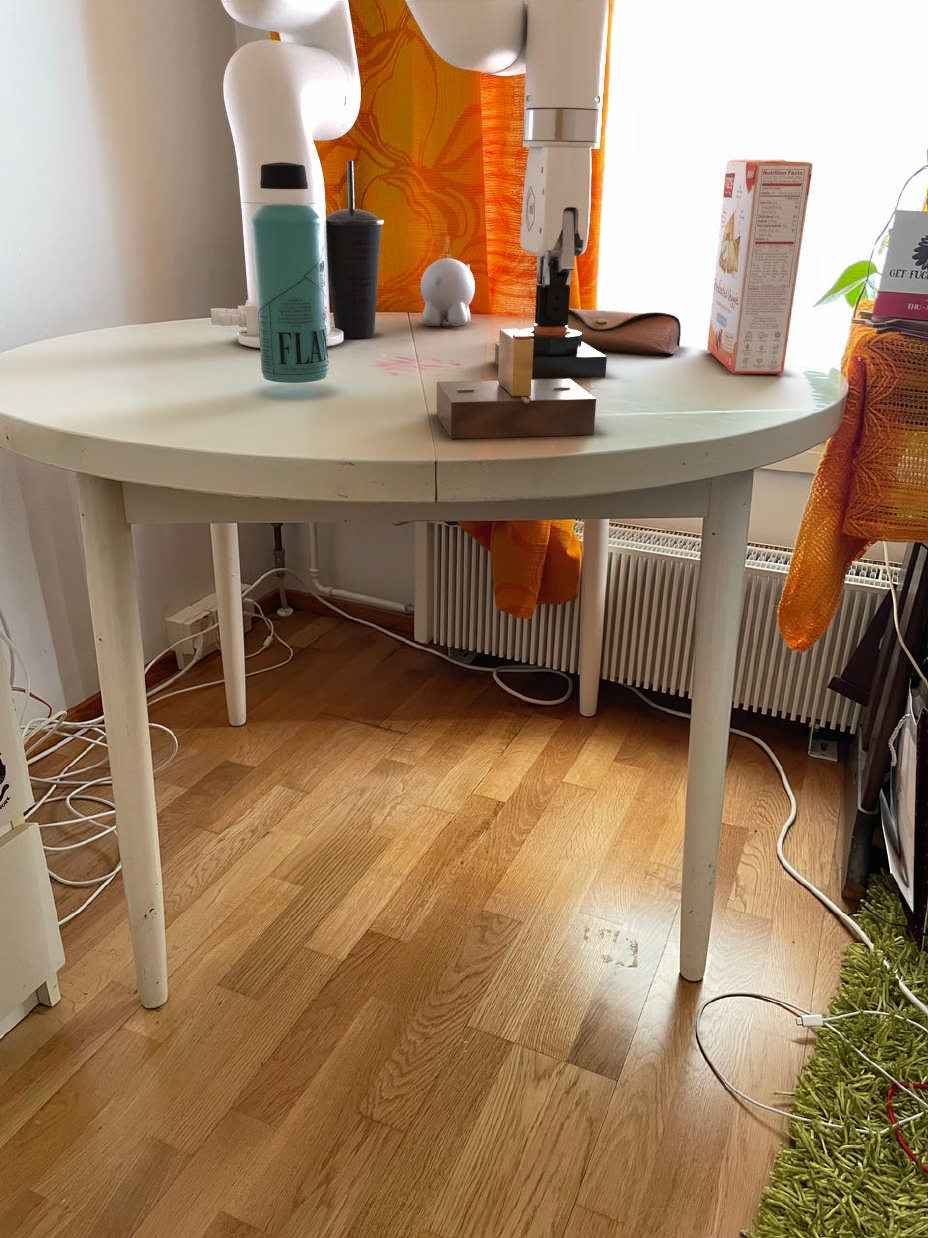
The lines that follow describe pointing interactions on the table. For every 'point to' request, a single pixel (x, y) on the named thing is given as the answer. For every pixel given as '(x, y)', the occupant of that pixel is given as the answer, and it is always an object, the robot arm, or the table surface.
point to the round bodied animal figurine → (447, 293)
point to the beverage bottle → (289, 282)
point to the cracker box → (757, 263)
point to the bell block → (563, 357)
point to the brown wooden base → (514, 409)
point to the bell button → (550, 330)
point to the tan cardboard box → (515, 362)
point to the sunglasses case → (627, 331)
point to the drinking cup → (353, 266)
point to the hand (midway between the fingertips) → (551, 324)
